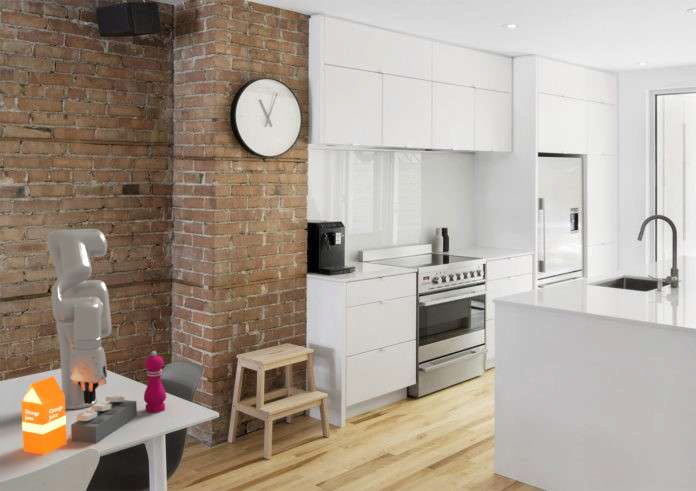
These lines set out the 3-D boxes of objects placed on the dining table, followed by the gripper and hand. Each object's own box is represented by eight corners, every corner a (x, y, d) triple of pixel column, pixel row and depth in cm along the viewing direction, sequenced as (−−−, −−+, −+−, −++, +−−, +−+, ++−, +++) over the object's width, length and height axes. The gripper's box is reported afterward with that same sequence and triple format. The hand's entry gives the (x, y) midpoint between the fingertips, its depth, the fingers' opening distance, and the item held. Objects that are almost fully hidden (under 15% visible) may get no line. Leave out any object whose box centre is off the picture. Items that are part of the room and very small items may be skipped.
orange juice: (23, 450, 201) (19, 382, 199) (46, 440, 209) (43, 374, 207) (44, 454, 198) (41, 385, 196) (67, 443, 206) (64, 377, 204)
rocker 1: (76, 420, 209) (76, 415, 209) (86, 415, 214) (86, 410, 214) (87, 421, 208) (87, 415, 208) (97, 416, 213) (97, 411, 213)
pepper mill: (160, 414, 232) (158, 354, 230) (140, 412, 233) (138, 353, 231) (170, 406, 239) (168, 349, 237) (150, 405, 240) (148, 348, 238)
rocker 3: (105, 401, 224) (106, 396, 225) (113, 401, 229) (114, 396, 230) (115, 401, 224) (116, 396, 224) (124, 401, 229) (124, 396, 229)
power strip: (71, 441, 208) (70, 423, 208) (123, 408, 238) (123, 392, 237) (96, 443, 207) (95, 425, 206) (145, 409, 236) (145, 394, 235)
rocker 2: (91, 410, 217) (91, 405, 217) (100, 408, 222) (101, 403, 222) (102, 411, 216) (102, 405, 216) (111, 409, 221) (111, 404, 221)
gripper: (58, 344, 209) (60, 404, 211) (104, 348, 206) (105, 409, 208) (72, 338, 216) (74, 396, 219) (117, 342, 213) (118, 400, 216)
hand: (89, 402), depth 213 cm, fingers closed
